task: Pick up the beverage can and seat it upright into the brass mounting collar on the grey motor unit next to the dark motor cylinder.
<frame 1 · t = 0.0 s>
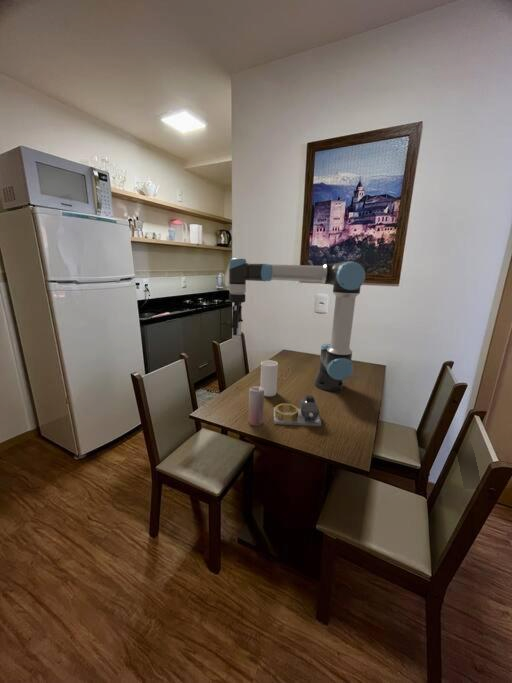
hand: (236, 338, 133), 28 cm above the table, fingers open, 13 cm apart
beverage can: (255, 422, 113), on the table
cup: (268, 393, 140), on the table
motor unit: (296, 417, 117), on the table
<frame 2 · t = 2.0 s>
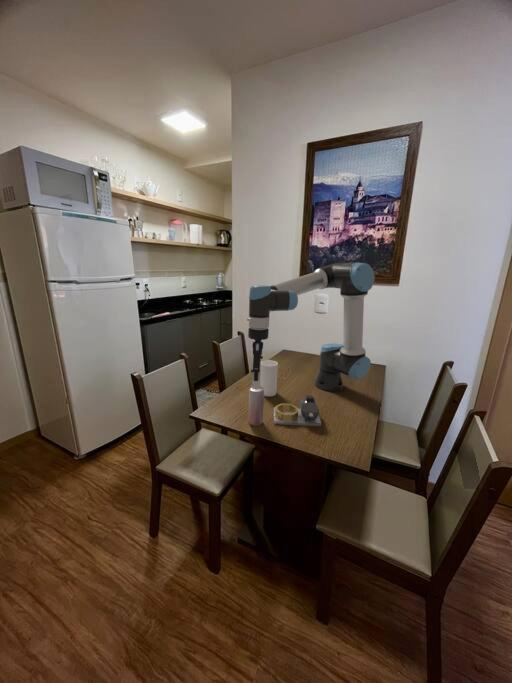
hand: (256, 380, 108), 18 cm above the table, fingers open, 13 cm apart
nothing on the table moved.
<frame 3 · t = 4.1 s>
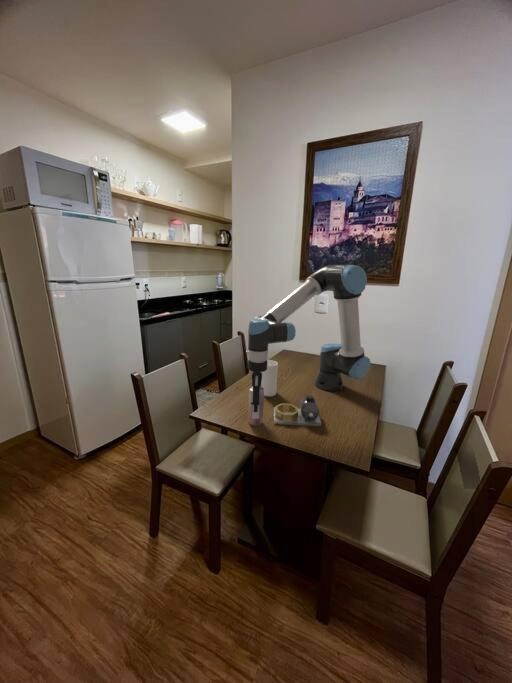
hand: (255, 413, 112), 4 cm above the table, fingers closed on beverage can, 6 cm apart
beverage can: (255, 422, 113), on the table, touching gripper
everything else where it was.
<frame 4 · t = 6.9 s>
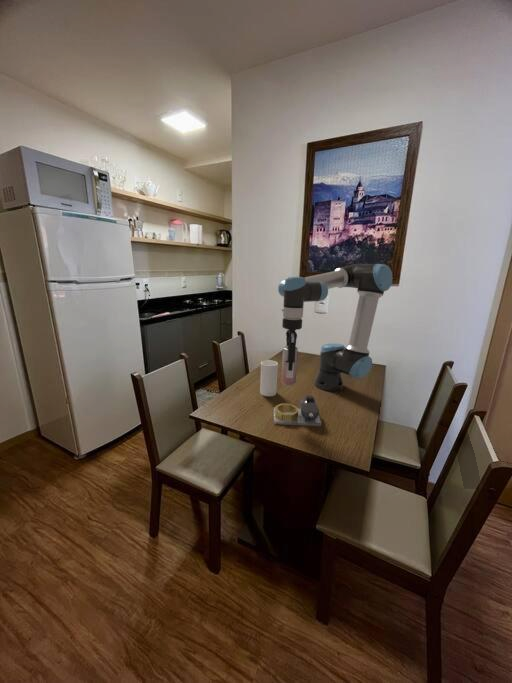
hand: (288, 374, 112), 20 cm above the table, fingers closed on beverage can, 6 cm apart
beverage can: (288, 383, 113), point 16 cm above the table, touching gripper
everything else where it was.
when the fingers open (7 cm above the table, at t = 9.8 s): beverage can drops 1 cm, resting on motor unit.
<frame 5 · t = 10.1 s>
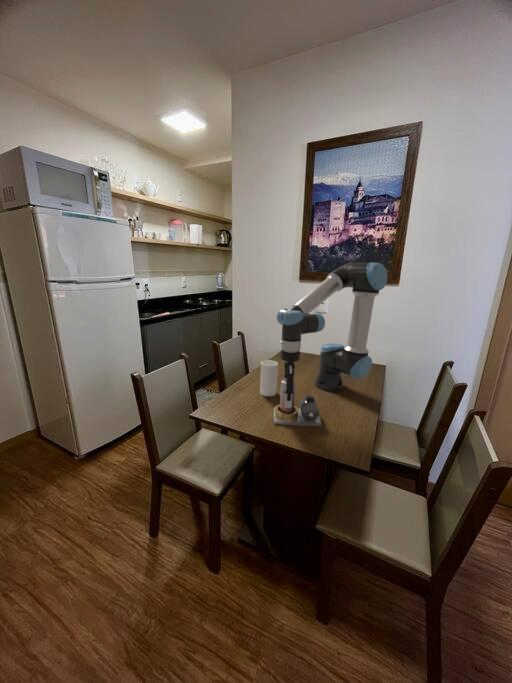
hand: (287, 401, 115), 8 cm above the table, fingers open, 10 cm apart
beverage can: (286, 414, 117), point 1 cm above the table, touching motor unit
everything else where it was.
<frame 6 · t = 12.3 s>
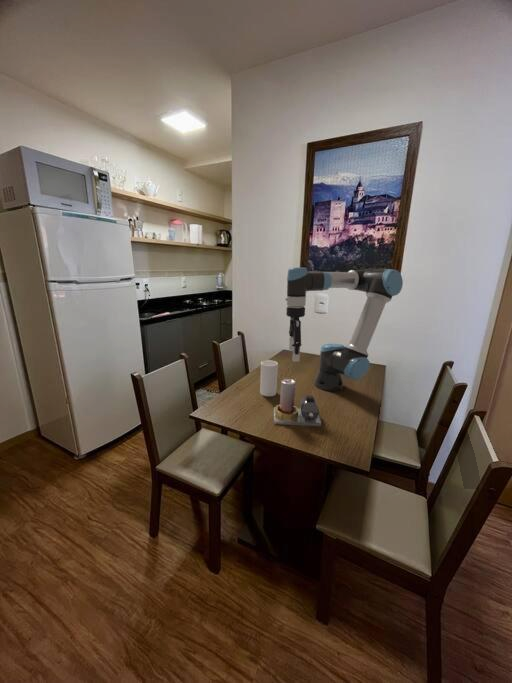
hand: (293, 355, 119), 25 cm above the table, fingers open, 13 cm apart
nothing on the table moved.
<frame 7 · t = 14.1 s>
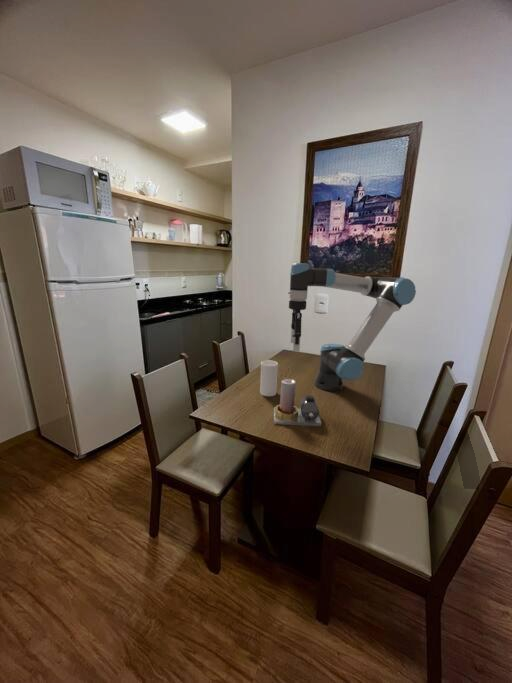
hand: (294, 346, 126), 27 cm above the table, fingers open, 13 cm apart
nothing on the table moved.
at the end: beverage can 0.0 cm from the target spot on the motor unit, point 1.3 cm above the motor unit's base; beverage can tilted 0°; the gripper is holding nothing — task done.
